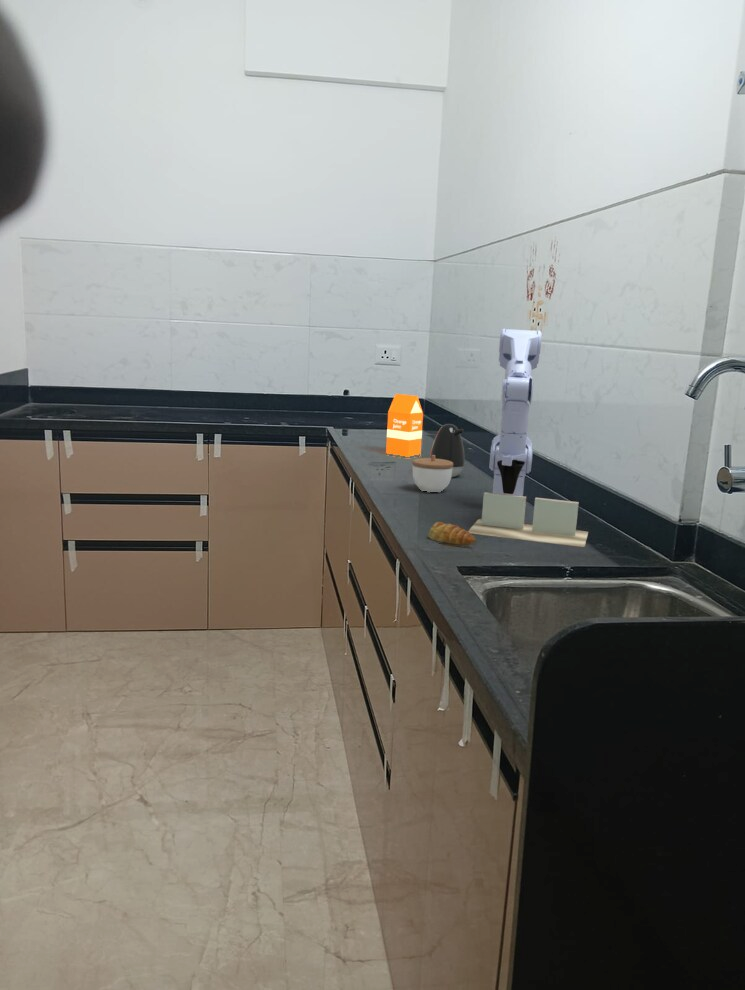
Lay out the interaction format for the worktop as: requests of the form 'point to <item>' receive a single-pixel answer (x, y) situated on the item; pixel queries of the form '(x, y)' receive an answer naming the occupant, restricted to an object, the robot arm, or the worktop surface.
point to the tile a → (503, 510)
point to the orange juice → (404, 426)
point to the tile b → (555, 516)
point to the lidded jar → (432, 473)
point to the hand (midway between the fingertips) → (508, 493)
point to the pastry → (451, 535)
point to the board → (530, 534)
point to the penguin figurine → (450, 447)
